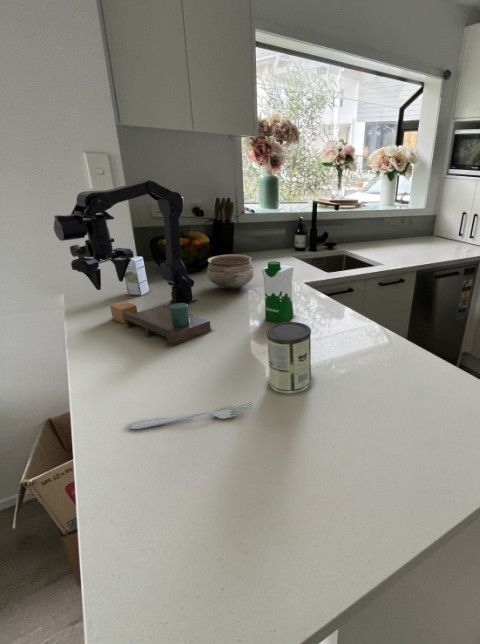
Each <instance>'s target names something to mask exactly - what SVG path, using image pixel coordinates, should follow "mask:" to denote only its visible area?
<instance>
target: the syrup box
mask: <svg viewBox="0 0 480 644" xmlns="http://www.w3.org/2000/svg"><path fill="white" fill-rule="evenodd" d="M130 259H131V261H130V262H129V265H128V267H127V270H126V273H125V276H124V281H125V285H126V291H127V295H129V296H144V295H146V294H147V293H149V292H150V289H149V284H148V278H147V273H146V268H145V261H144V258H143V256H134V257H133V258H130Z"/></svg>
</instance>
